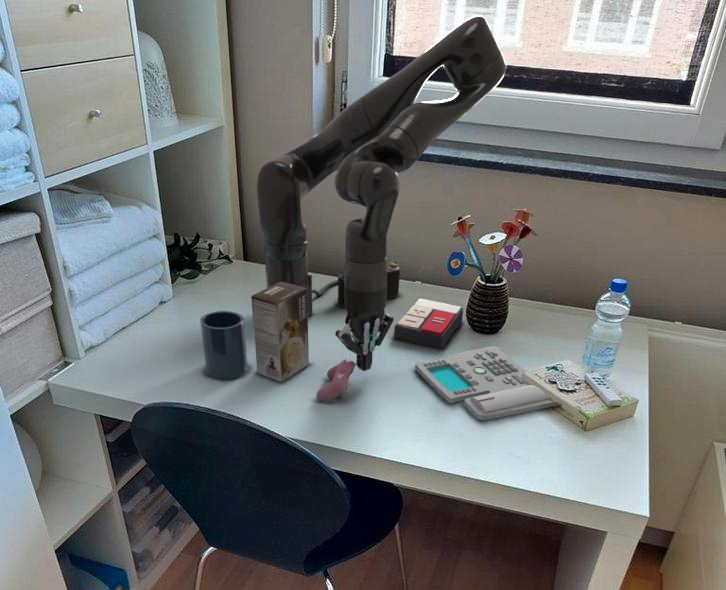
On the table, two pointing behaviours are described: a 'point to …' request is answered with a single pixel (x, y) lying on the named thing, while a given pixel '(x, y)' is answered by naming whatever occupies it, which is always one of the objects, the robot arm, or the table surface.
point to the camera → (392, 284)
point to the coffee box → (281, 330)
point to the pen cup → (224, 344)
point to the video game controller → (337, 380)
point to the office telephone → (484, 383)
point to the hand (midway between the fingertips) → (364, 368)
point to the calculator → (429, 323)
